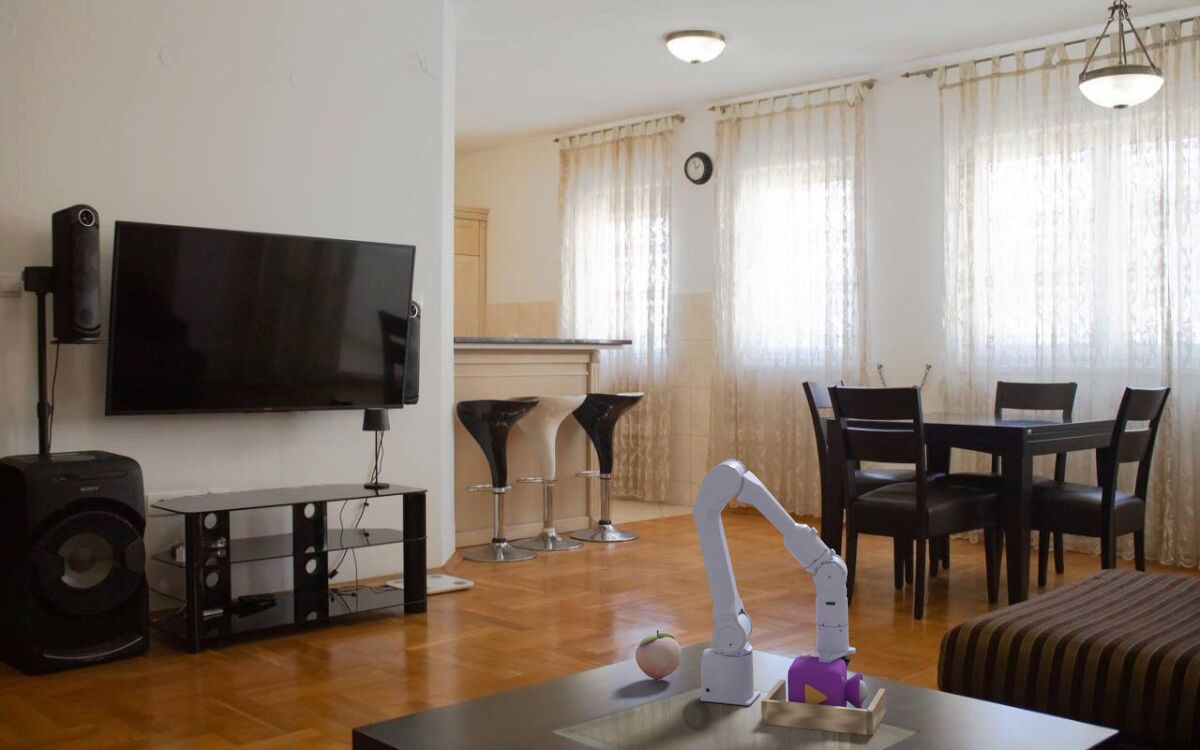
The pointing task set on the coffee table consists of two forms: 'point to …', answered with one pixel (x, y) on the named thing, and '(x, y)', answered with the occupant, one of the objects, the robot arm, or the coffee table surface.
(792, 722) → the wooden tray
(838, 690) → the toy camera
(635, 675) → the coffee table surface
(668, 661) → the decorative fruit
